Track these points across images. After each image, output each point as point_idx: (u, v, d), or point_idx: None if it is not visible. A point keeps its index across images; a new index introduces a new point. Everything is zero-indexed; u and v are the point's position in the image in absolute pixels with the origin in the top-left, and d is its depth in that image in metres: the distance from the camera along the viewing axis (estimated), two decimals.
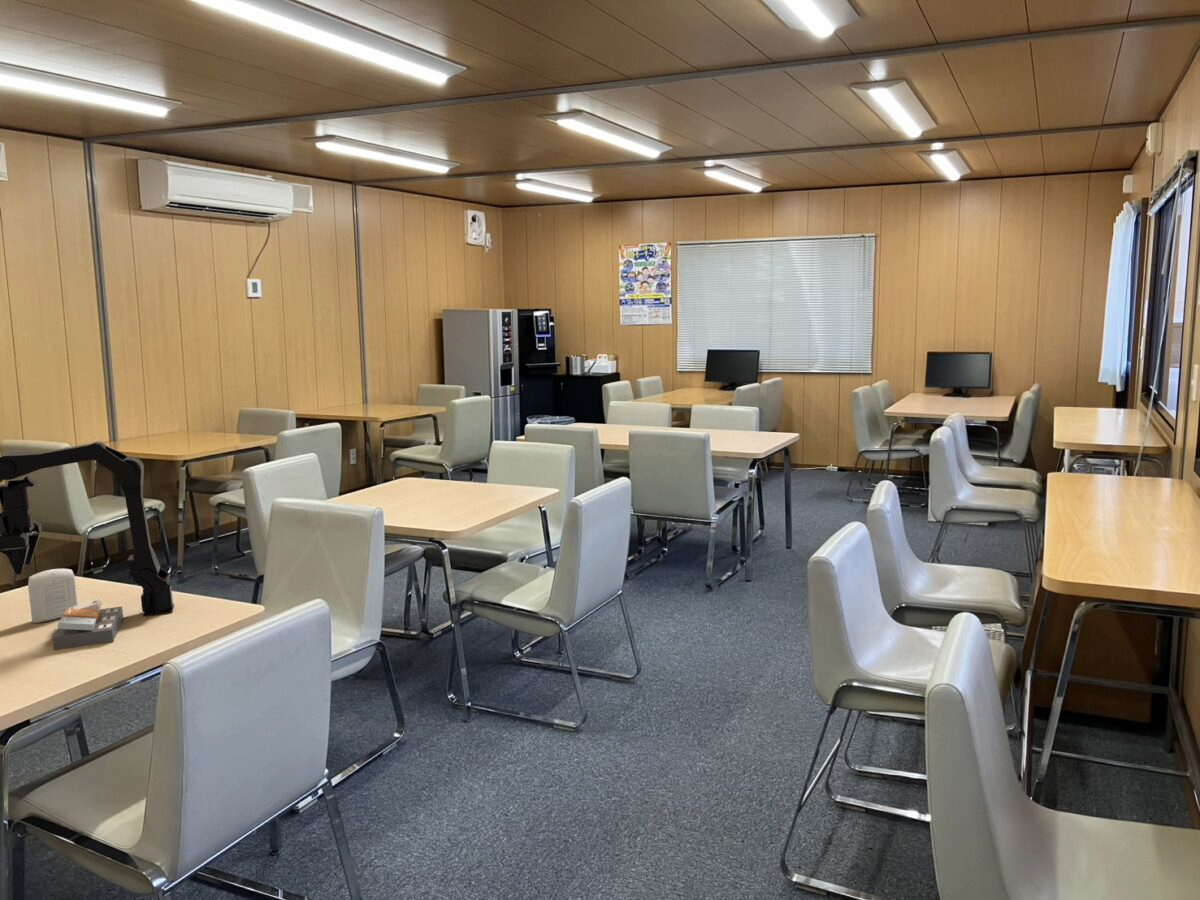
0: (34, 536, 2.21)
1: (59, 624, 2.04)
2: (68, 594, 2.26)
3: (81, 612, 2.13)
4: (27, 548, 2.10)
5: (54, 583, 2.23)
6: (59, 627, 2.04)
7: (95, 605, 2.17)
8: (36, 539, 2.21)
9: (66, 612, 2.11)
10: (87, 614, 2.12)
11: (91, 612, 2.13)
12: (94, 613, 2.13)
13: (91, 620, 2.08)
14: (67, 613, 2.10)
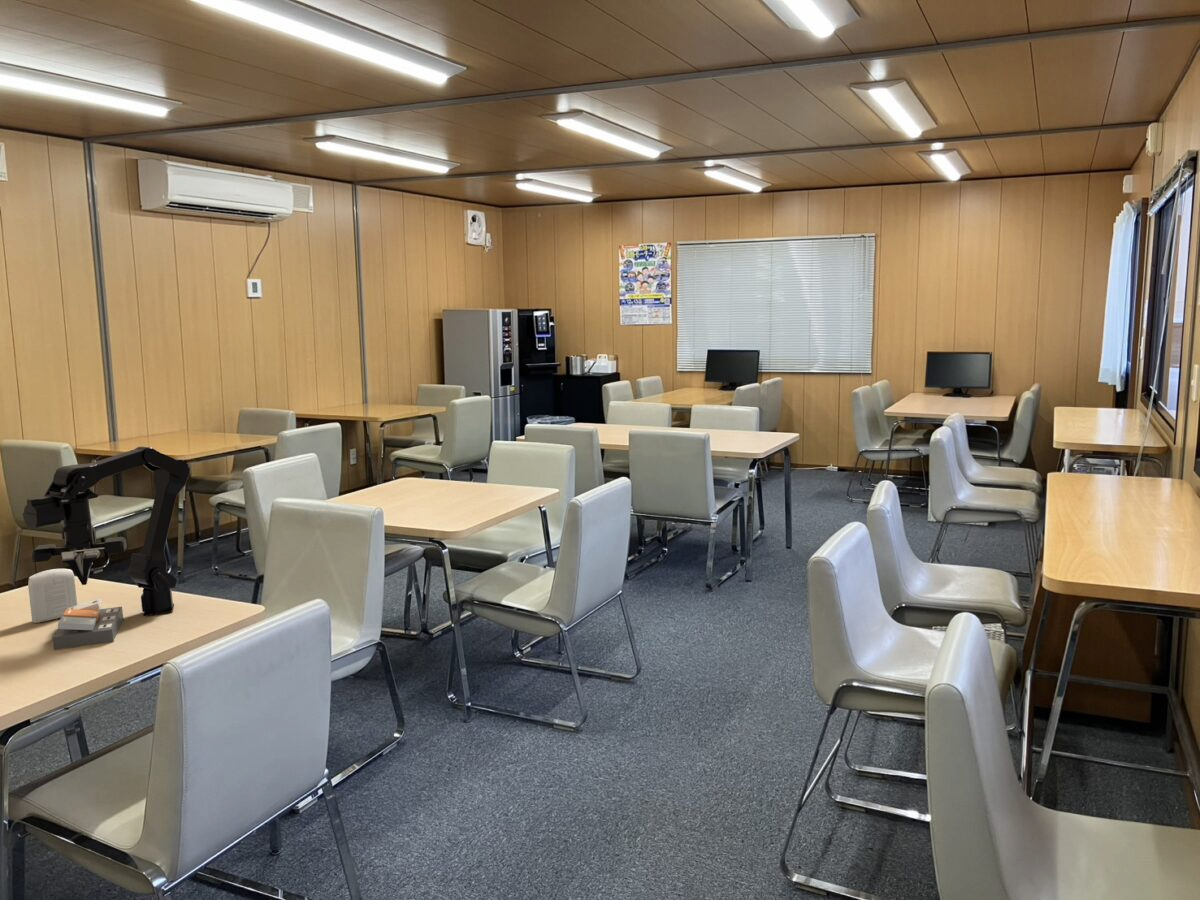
0: None
1: (59, 624, 2.04)
2: (68, 594, 2.26)
3: (81, 612, 2.13)
4: (67, 562, 2.08)
5: (54, 583, 2.23)
6: (59, 627, 2.04)
7: (95, 605, 2.17)
8: (83, 562, 2.09)
9: (66, 612, 2.11)
10: (87, 614, 2.12)
11: (91, 612, 2.13)
12: (94, 613, 2.13)
13: (91, 620, 2.08)
14: (67, 613, 2.10)
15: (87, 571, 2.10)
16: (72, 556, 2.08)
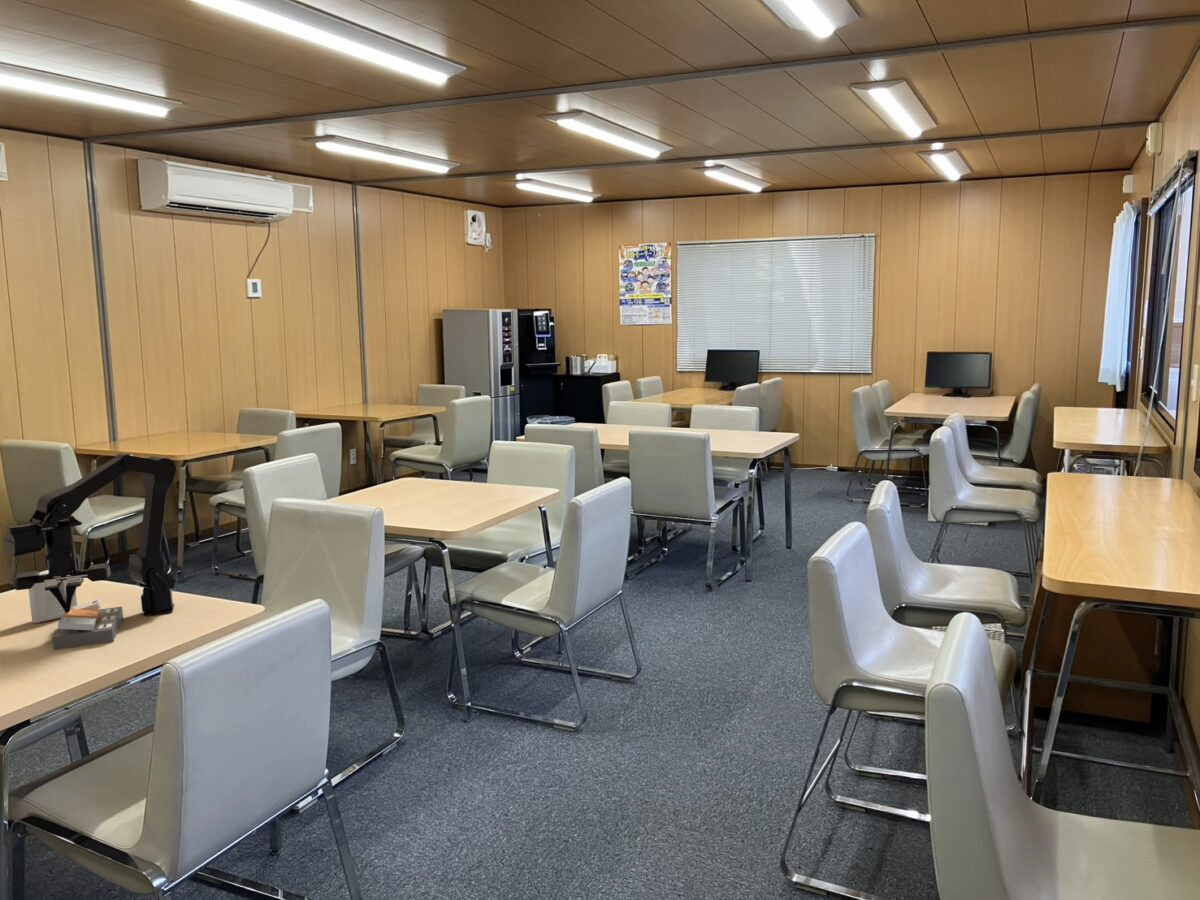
0: None
1: (59, 624, 2.04)
2: None
3: (81, 612, 2.13)
4: (50, 589, 2.07)
5: None
6: (59, 627, 2.04)
7: (95, 605, 2.17)
8: (66, 589, 2.09)
9: (66, 612, 2.11)
10: (87, 614, 2.12)
11: (91, 612, 2.13)
12: (94, 613, 2.13)
13: (91, 620, 2.08)
14: (67, 613, 2.10)
15: (70, 598, 2.10)
16: (55, 584, 2.08)
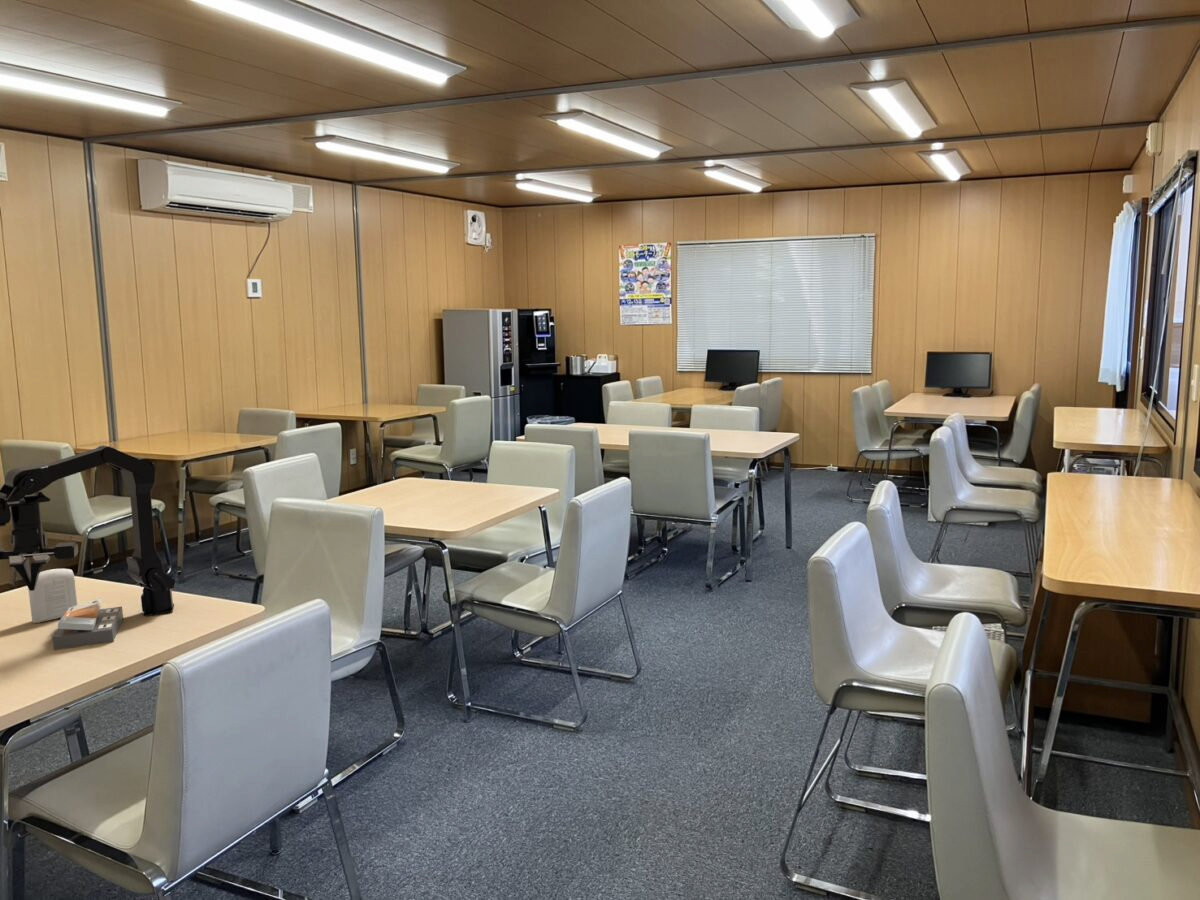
0: None
1: (59, 624, 2.04)
2: (68, 594, 2.26)
3: (79, 612, 2.13)
4: (15, 566, 2.02)
5: (54, 583, 2.23)
6: (59, 627, 2.04)
7: (95, 605, 2.17)
8: (31, 567, 2.03)
9: (64, 616, 2.11)
10: (85, 613, 2.12)
11: (89, 610, 2.13)
12: (92, 610, 2.13)
13: (91, 620, 2.08)
14: (65, 616, 2.10)
15: (35, 576, 2.04)
16: (20, 560, 2.03)
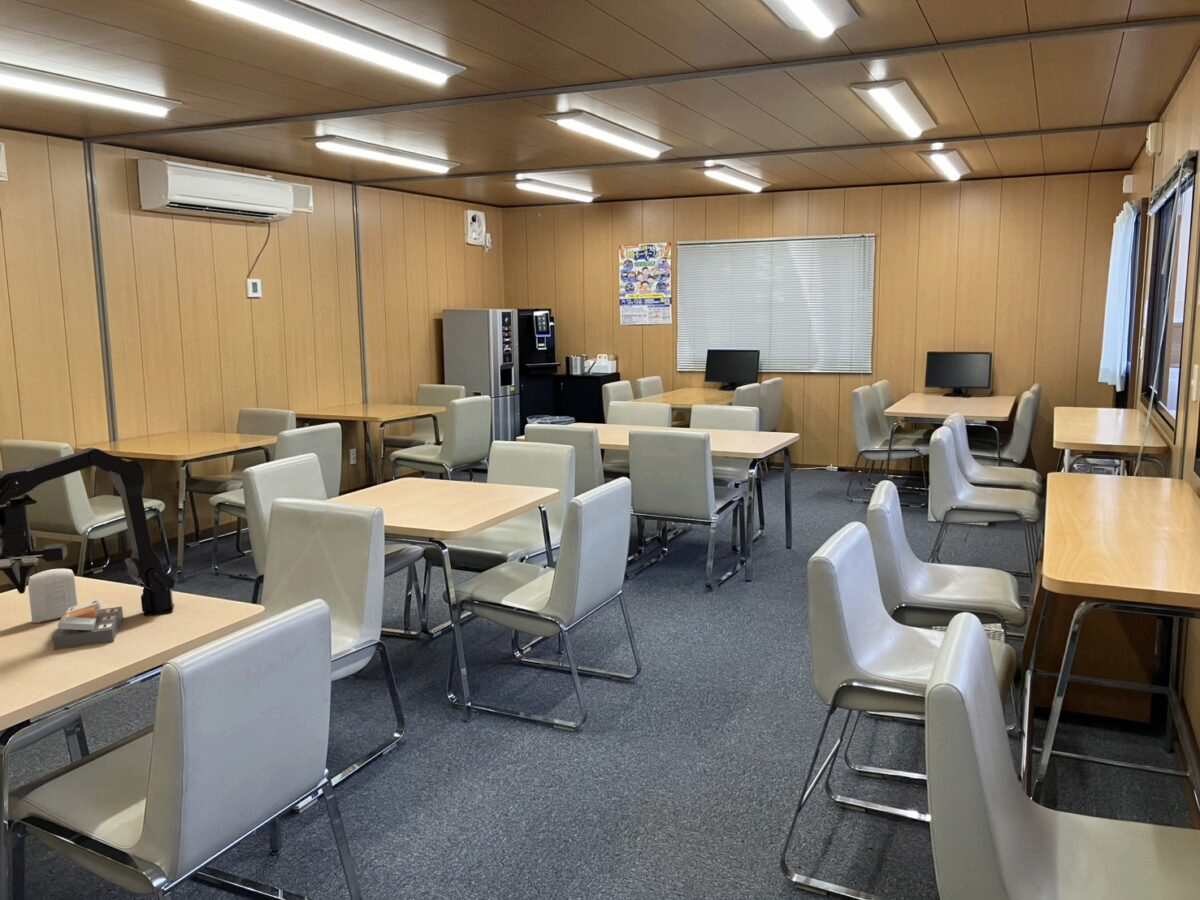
0: None
1: (59, 624, 2.04)
2: (68, 594, 2.26)
3: (78, 612, 2.13)
4: (3, 570, 2.00)
5: (54, 583, 2.23)
6: (59, 627, 2.04)
7: (95, 605, 2.17)
8: None
9: None
10: (84, 612, 2.12)
11: (88, 610, 2.13)
12: (91, 609, 2.13)
13: (91, 620, 2.08)
14: None
15: (24, 579, 2.03)
16: (8, 564, 2.01)
